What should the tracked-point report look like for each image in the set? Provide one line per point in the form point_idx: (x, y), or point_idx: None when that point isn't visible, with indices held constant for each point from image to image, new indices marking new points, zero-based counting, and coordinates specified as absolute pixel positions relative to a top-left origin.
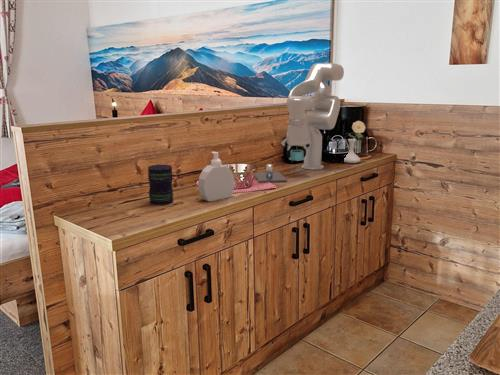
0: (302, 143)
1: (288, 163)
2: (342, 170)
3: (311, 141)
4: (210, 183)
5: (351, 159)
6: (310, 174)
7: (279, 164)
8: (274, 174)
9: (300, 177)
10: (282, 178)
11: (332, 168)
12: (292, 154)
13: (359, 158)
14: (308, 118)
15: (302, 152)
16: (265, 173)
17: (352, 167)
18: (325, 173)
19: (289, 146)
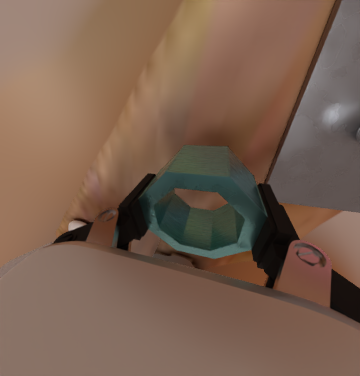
0: (79, 271)
1: (190, 257)
2: (86, 184)
3: (2, 271)
4: None
5: (78, 226)
6: (158, 161)
7: (210, 259)
8: (315, 161)
9: (202, 119)
10: (355, 33)
11: (109, 204)
12: (249, 187)
13: (68, 227)
14: None
15: (151, 184)
16: (345, 187)
17: (76, 201)
18: (118, 164)
19: (309, 294)
